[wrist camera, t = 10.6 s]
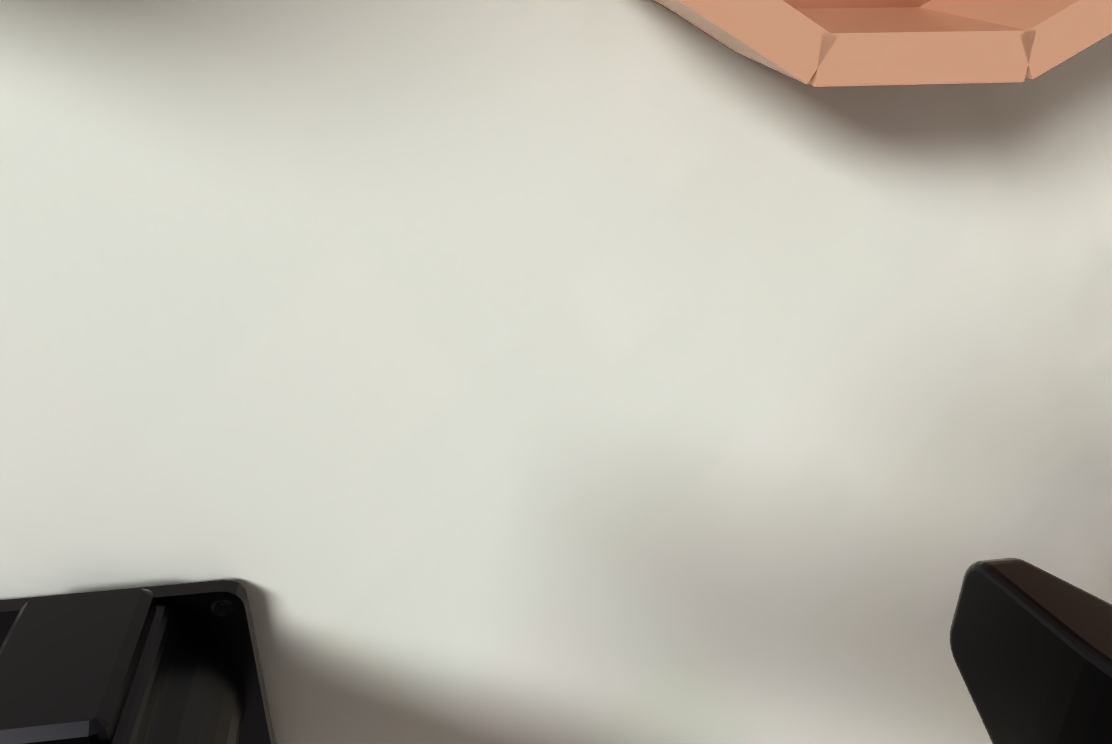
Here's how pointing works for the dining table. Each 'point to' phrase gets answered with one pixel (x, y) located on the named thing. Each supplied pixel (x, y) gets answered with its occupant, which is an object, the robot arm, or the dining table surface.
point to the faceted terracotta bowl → (902, 37)
